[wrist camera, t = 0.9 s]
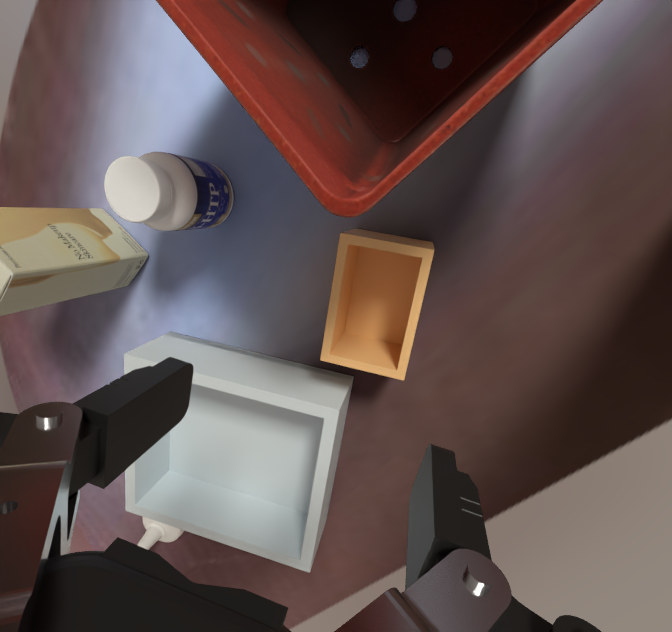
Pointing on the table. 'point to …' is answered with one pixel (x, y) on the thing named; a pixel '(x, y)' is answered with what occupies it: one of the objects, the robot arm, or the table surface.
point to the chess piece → (158, 533)
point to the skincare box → (62, 256)
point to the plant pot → (367, 77)
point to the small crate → (376, 301)
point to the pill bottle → (168, 191)
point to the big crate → (244, 450)
